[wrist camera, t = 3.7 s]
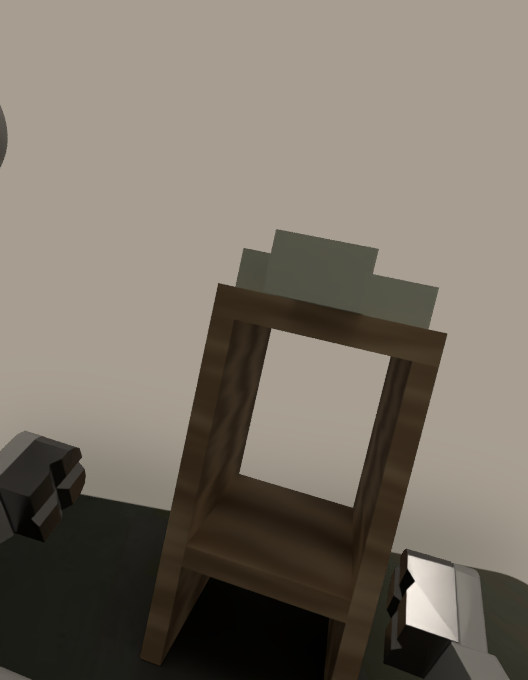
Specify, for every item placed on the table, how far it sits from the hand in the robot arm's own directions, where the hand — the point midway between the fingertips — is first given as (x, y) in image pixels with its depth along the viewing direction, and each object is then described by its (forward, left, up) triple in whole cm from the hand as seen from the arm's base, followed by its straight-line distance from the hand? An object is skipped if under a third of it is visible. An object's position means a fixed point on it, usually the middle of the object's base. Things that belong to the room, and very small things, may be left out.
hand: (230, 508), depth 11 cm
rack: (-17, +17, -21) cm, 32 cm away
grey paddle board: (-13, +13, +5) cm, 19 cm away
